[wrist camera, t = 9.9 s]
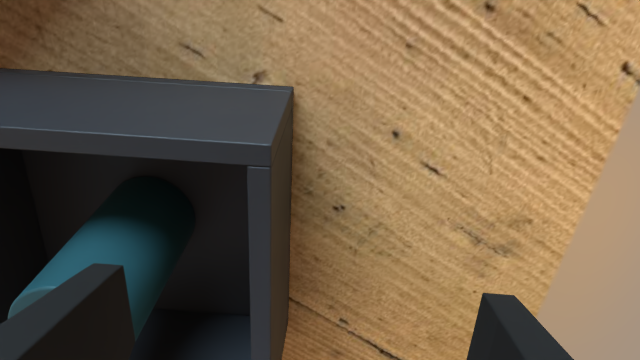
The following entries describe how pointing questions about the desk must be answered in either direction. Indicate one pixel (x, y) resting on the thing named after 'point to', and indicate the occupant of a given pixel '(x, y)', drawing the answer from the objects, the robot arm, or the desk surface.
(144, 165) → the bin
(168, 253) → the teal cylinder
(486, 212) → the desk surface
